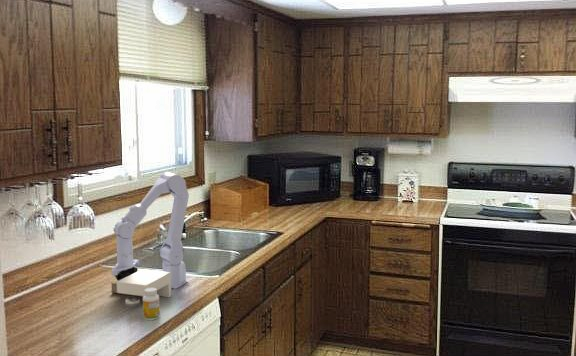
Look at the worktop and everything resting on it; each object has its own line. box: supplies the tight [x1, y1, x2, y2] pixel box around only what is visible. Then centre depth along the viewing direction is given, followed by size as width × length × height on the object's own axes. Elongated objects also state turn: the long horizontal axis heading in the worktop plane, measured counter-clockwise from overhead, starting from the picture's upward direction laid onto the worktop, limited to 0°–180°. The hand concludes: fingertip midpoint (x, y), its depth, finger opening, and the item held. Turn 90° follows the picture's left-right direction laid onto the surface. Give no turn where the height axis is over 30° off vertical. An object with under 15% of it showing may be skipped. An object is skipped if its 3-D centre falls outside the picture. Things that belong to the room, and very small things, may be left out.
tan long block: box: [111, 280, 144, 298], centre depth 215 cm, size 3×16×4 cm, turn 71°
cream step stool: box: [115, 268, 172, 298], centre depth 208 cm, size 16×12×9 cm
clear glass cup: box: [124, 296, 141, 307], centre depth 206 cm, size 5×5×2 cm
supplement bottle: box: [142, 288, 161, 321], centre depth 192 cm, size 5×5×10 cm
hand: (126, 288), depth 216 cm, fingers closed on tan long block, 3 cm apart
